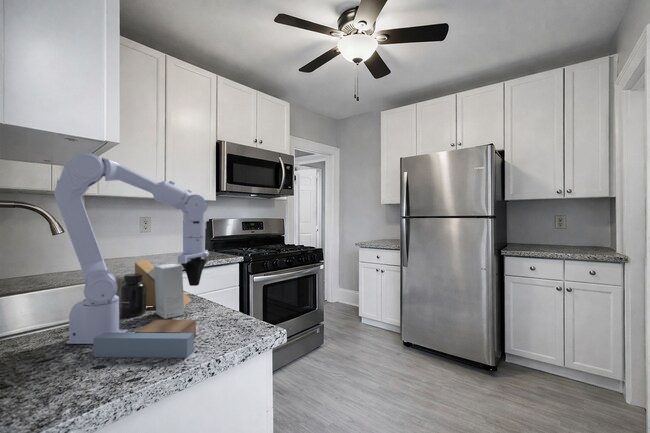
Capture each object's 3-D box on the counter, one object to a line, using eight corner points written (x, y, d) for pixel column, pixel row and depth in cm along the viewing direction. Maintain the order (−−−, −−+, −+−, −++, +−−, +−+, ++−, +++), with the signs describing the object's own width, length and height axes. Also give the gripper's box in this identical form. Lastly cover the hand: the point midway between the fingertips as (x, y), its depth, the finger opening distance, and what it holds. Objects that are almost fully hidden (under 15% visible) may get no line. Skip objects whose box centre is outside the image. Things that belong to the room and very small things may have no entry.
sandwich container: (185, 306, 101) (185, 261, 101) (134, 309, 99) (134, 262, 99) (192, 299, 110) (192, 257, 110) (146, 301, 108) (145, 258, 108)
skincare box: (184, 315, 92) (184, 265, 92) (162, 320, 88) (162, 267, 88) (174, 309, 98) (174, 262, 98) (153, 313, 94) (153, 264, 94)
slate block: (93, 356, 65) (93, 337, 65) (104, 350, 68) (104, 332, 68) (187, 357, 65) (187, 338, 65) (193, 351, 68) (193, 333, 68)
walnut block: (134, 352, 68) (134, 331, 68) (155, 337, 76) (155, 319, 76) (179, 352, 68) (179, 332, 68) (195, 338, 76) (195, 319, 76)
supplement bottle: (117, 319, 89) (117, 277, 89) (122, 312, 95) (121, 273, 95) (145, 316, 92) (144, 275, 92) (147, 309, 98) (147, 271, 98)
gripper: (196, 239, 80) (196, 291, 80) (217, 235, 95) (217, 279, 95) (169, 239, 81) (170, 291, 81) (194, 235, 95) (195, 279, 95)
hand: (194, 285), depth 88 cm, fingers closed
